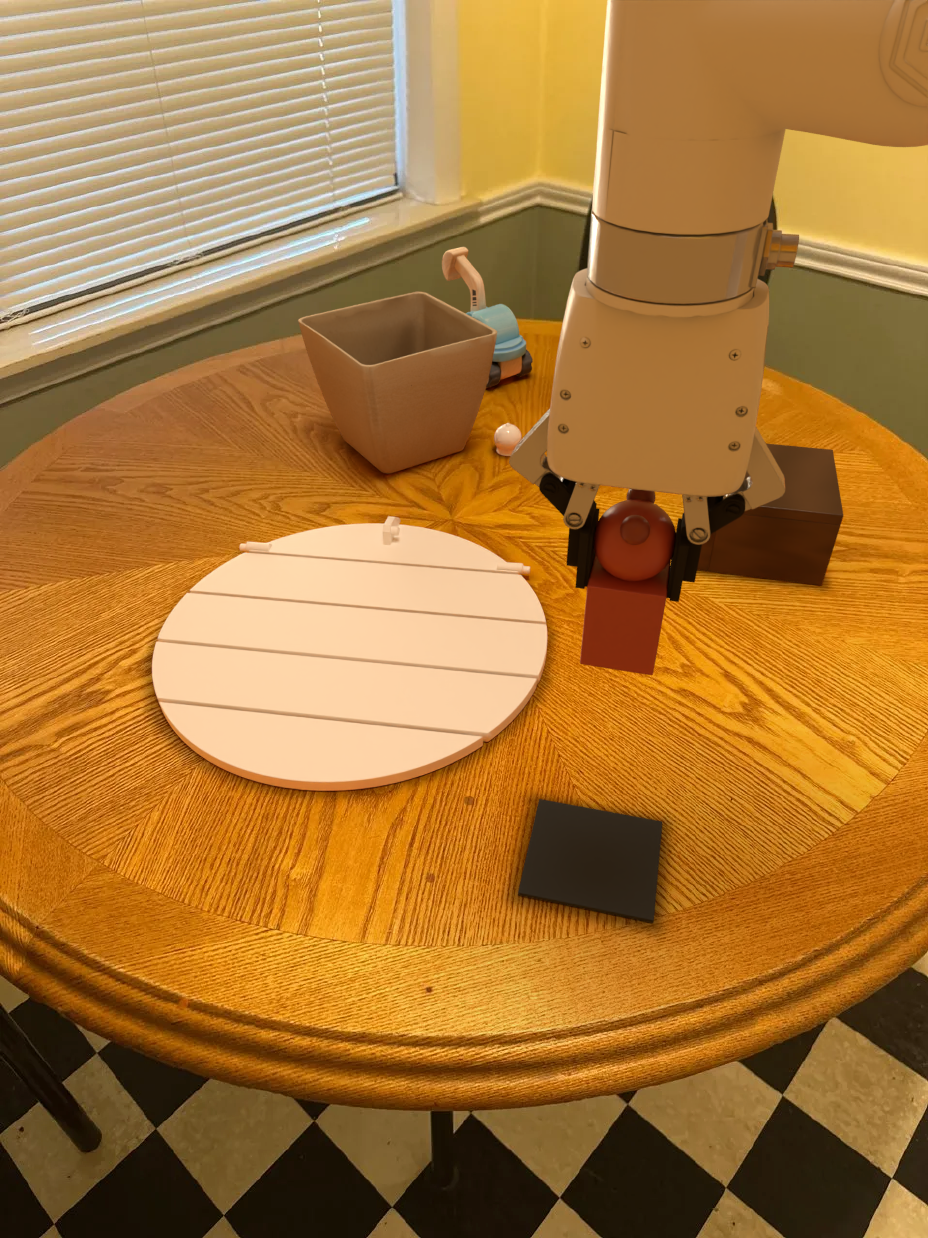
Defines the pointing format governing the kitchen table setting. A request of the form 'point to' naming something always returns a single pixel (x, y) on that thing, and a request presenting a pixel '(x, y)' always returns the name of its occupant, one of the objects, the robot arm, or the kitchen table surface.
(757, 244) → the robot arm
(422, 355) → the flower pot
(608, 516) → the ball-topped red block
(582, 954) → the kitchen table surface
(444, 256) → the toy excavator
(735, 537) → the wooden box with backboard
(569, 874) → the mat
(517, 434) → the decorative object set
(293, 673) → the round plank board
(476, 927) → the kitchen table surface
